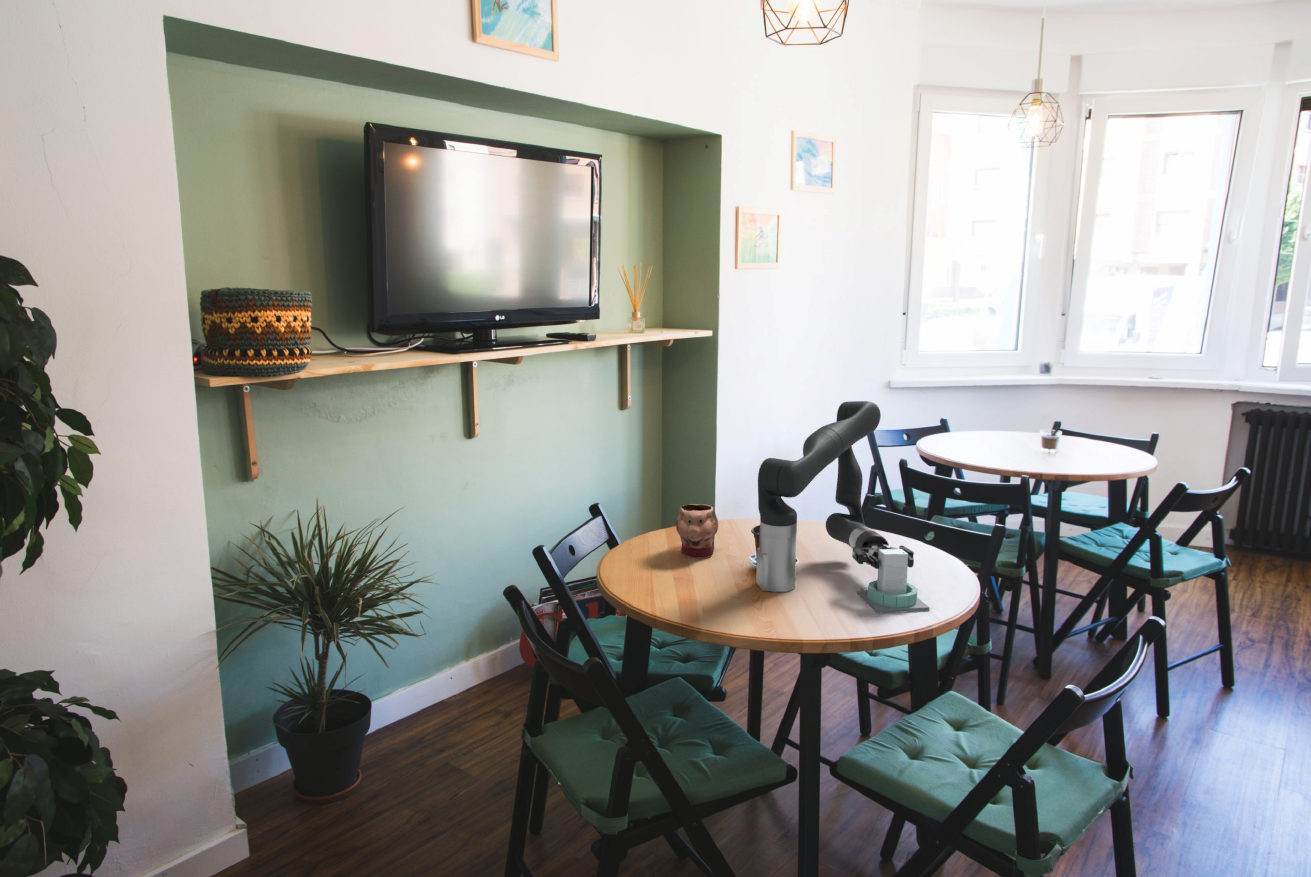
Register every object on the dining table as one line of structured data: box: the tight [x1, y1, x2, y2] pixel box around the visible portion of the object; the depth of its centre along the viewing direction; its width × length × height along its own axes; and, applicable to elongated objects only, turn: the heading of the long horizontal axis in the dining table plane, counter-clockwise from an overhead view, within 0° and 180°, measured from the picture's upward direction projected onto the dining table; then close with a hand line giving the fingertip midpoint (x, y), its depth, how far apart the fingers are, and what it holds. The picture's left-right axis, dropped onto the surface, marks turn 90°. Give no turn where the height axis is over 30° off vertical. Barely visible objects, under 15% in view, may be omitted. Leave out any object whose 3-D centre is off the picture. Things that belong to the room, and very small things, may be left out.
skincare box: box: [876, 548, 908, 595], centre depth 195 cm, size 6×4×12 cm
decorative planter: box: [675, 503, 719, 559], centre depth 232 cm, size 20×12×14 cm, turn 179°
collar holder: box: [855, 579, 931, 614], centre depth 196 cm, size 13×13×4 cm
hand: (894, 564), depth 194 cm, fingers open, 8 cm apart
